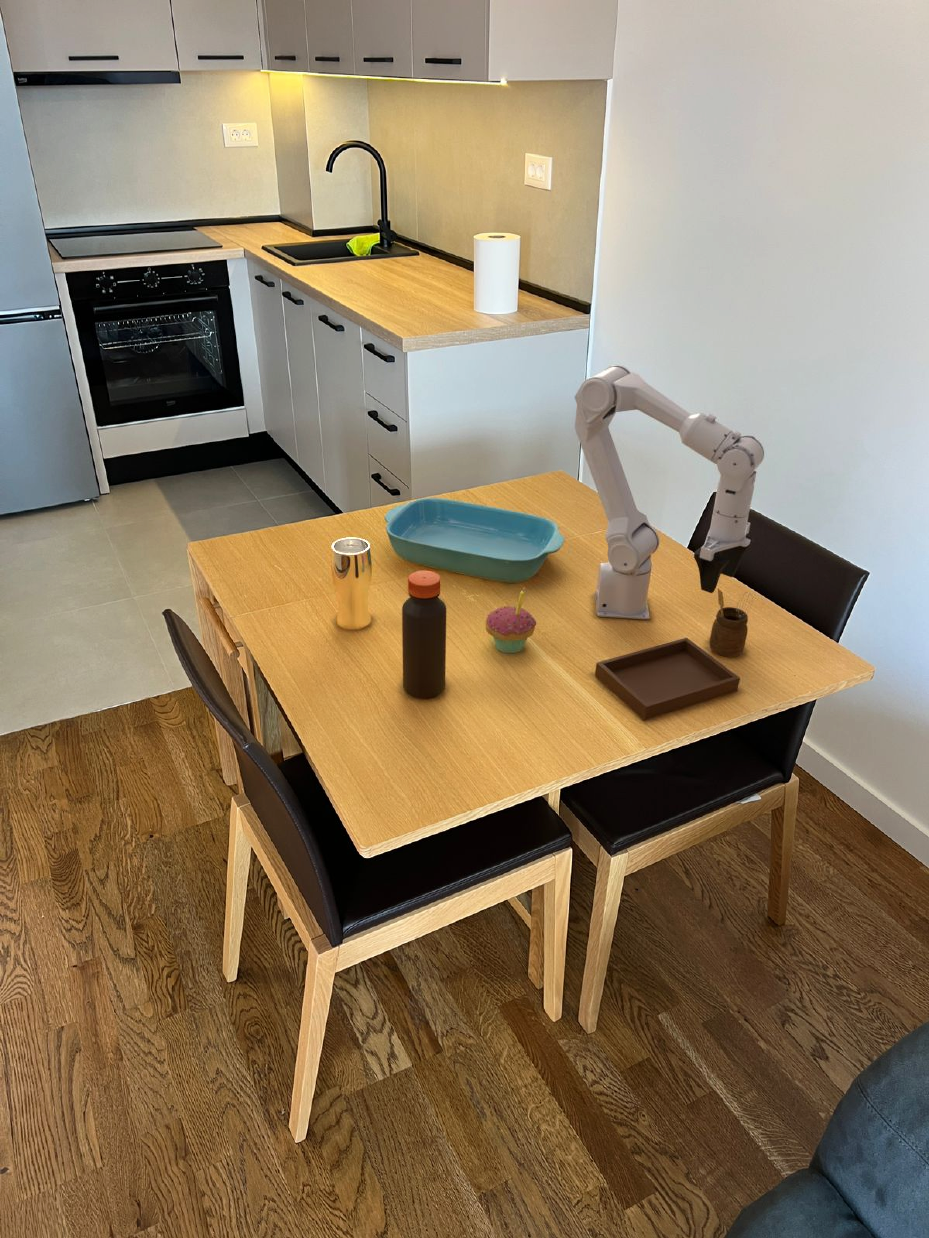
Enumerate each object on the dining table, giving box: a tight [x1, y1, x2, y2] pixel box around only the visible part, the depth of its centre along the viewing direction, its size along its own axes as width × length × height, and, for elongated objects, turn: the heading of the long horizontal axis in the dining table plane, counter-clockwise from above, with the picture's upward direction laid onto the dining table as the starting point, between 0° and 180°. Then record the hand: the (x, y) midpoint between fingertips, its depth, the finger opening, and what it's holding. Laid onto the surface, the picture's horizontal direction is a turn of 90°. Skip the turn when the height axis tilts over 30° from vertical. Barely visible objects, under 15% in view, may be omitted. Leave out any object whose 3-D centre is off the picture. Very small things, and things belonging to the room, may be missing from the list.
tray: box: [594, 637, 741, 721], centre depth 153 cm, size 19×14×3 cm
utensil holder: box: [708, 587, 754, 658], centre depth 160 cm, size 6×6×12 cm
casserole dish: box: [384, 497, 566, 584], centre depth 189 cm, size 37×22×7 cm, turn 70°
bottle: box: [401, 570, 447, 700], centre depth 146 cm, size 7×7×20 cm
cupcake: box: [485, 587, 537, 654], centre depth 159 cm, size 9×8×12 cm
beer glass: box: [330, 537, 373, 631], centre depth 164 cm, size 7×7×15 cm
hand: (717, 582), depth 162 cm, fingers open, 7 cm apart
